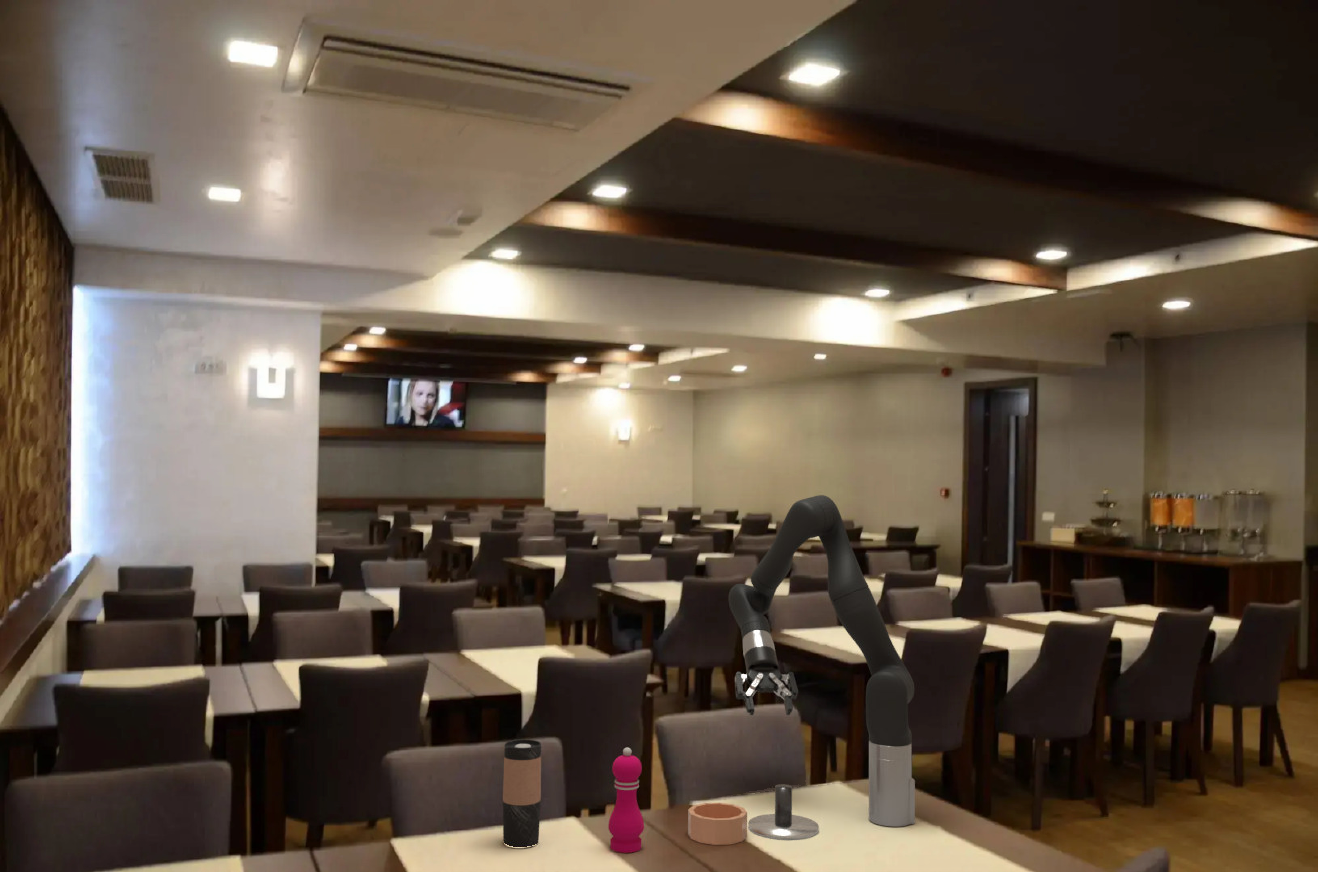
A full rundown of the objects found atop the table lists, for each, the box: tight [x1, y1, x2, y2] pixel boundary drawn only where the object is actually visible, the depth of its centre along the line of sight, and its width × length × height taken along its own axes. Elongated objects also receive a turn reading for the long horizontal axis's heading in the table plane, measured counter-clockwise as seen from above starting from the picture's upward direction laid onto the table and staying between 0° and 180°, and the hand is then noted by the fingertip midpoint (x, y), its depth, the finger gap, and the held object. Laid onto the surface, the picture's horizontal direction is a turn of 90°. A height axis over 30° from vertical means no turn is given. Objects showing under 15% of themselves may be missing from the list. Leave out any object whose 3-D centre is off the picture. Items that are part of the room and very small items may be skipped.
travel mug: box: [502, 739, 542, 847], centre depth 216 cm, size 8×8×20 cm
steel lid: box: [747, 783, 820, 841], centre depth 227 cm, size 15×15×9 cm
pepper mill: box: [607, 747, 645, 854], centre depth 214 cm, size 7×7×20 cm
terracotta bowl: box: [687, 802, 748, 846], centre depth 222 cm, size 12×12×5 cm
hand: (770, 713), depth 239 cm, fingers open, 8 cm apart
